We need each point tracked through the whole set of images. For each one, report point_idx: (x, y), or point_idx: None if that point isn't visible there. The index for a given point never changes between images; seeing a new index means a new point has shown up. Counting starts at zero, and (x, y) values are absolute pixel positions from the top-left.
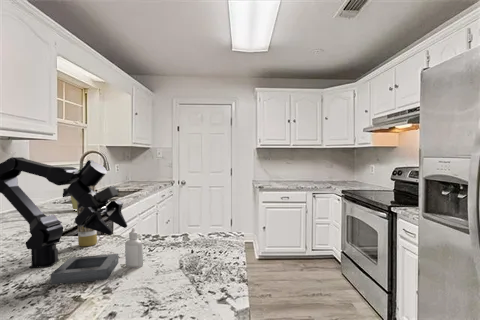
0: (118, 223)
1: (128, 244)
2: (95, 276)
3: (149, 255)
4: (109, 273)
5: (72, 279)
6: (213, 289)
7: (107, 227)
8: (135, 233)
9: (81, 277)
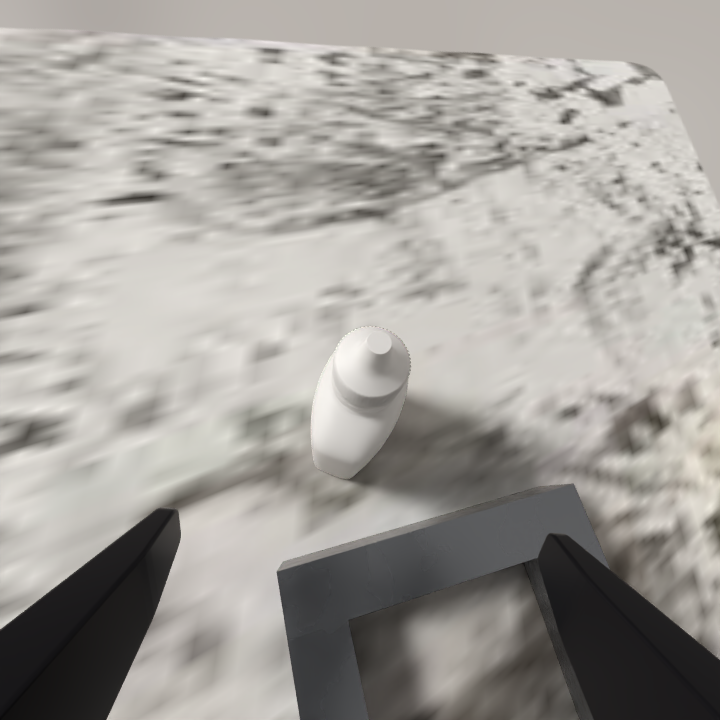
0: (112, 688)
1: (397, 419)
2: None
3: (159, 406)
4: (508, 497)
5: None
6: (551, 113)
7: (637, 602)
8: (392, 334)
9: None
